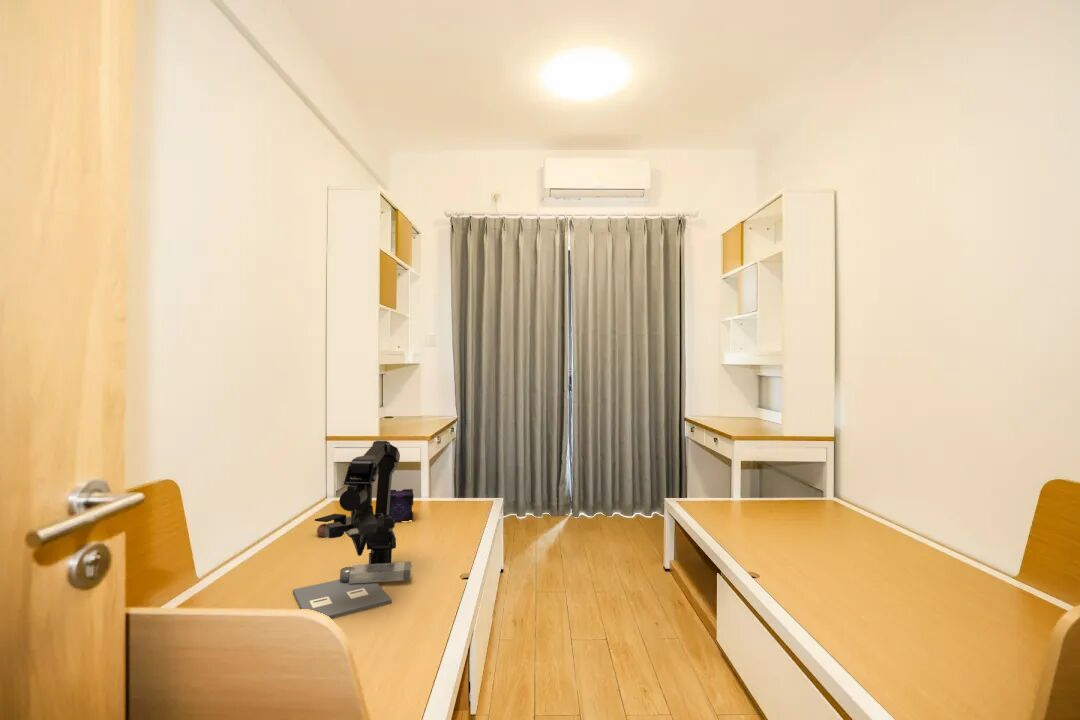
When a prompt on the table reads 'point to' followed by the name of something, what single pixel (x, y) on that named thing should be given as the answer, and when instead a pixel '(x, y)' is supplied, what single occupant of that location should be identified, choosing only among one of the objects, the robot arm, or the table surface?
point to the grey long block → (376, 572)
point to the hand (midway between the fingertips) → (359, 555)
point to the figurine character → (336, 517)
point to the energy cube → (401, 505)
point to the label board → (341, 597)
